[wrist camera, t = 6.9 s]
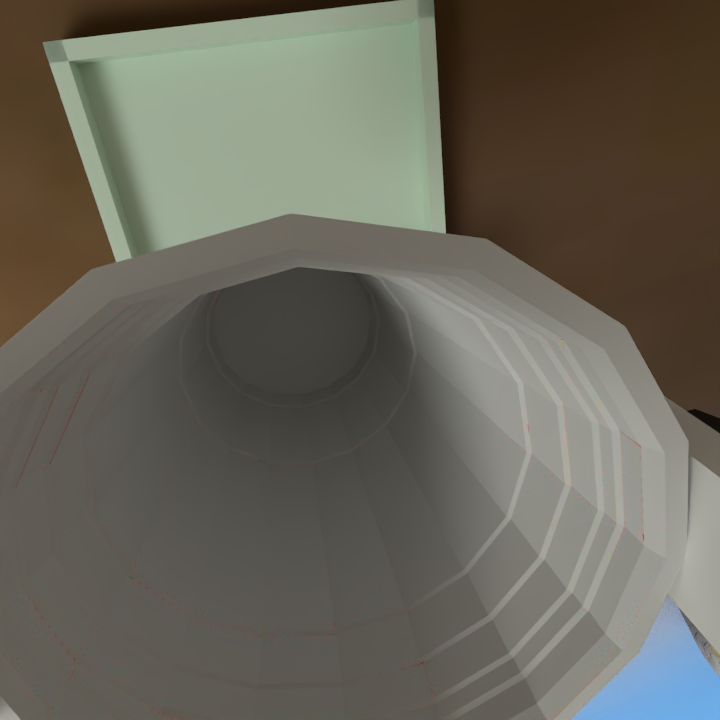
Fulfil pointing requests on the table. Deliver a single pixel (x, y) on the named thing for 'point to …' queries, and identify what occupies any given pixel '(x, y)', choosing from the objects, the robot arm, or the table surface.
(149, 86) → the tray
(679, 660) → the table surface
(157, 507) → the plastic cup
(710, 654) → the juice carton
